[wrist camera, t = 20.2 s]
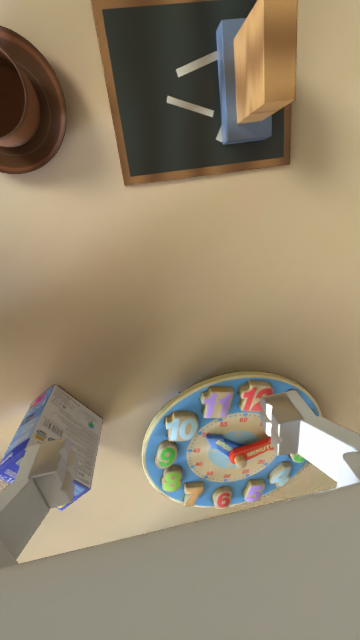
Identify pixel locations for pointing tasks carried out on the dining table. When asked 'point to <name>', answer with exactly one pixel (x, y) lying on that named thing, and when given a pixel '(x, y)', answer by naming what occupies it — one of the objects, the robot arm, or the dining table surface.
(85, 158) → the dining table surface
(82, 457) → the ink cartridge box
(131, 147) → the slate board
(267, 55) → the eraser
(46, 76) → the cup and saucer
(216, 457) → the shape sorting clock
